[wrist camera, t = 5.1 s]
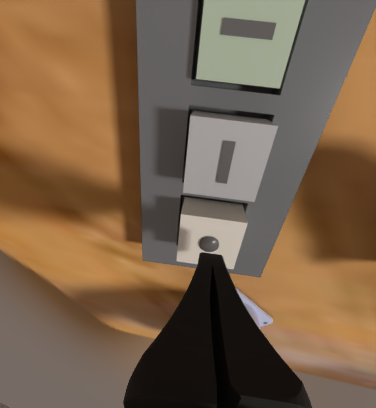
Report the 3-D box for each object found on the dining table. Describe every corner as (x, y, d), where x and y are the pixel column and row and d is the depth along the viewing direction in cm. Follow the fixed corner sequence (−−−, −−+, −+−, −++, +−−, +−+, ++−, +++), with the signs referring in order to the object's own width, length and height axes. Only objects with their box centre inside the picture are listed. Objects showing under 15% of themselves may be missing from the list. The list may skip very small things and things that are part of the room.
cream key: (230, 247, 17) (233, 270, 15) (180, 240, 17) (176, 262, 15) (242, 204, 15) (248, 224, 13) (184, 196, 15) (180, 215, 13)
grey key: (247, 185, 14) (254, 202, 12) (186, 177, 14) (182, 193, 12) (266, 119, 12) (278, 126, 10) (193, 110, 12) (190, 115, 10)
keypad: (255, 258, 20) (260, 277, 18) (149, 243, 21) (142, 260, 19) (386, -87, 9) (435, -134, 7) (148, -107, 9) (131, -158, 7)
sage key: (268, 87, 12) (280, 88, 10) (198, 80, 13) (196, 78, 10) (294, -11, 10) (316, -37, 8) (208, -20, 10) (208, -47, 8)
